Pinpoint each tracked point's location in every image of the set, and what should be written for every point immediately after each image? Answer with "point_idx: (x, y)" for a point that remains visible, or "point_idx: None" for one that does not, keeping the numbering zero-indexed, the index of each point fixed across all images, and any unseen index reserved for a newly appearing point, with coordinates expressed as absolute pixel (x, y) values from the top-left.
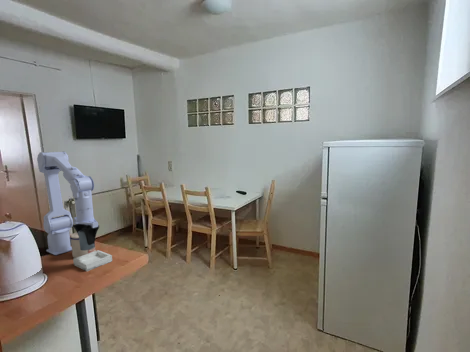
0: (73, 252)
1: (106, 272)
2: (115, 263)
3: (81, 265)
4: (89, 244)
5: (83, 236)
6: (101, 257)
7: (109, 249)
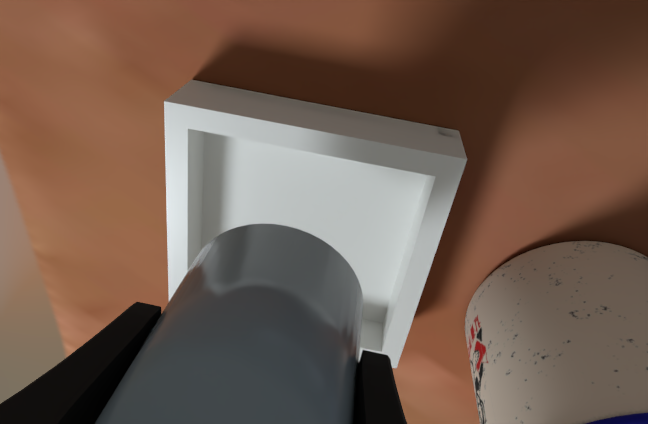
0: (628, 276)
1: (24, 129)
2: (129, 264)
3: (283, 111)
4: (130, 310)
5: (117, 407)
6: None
7: (418, 419)
